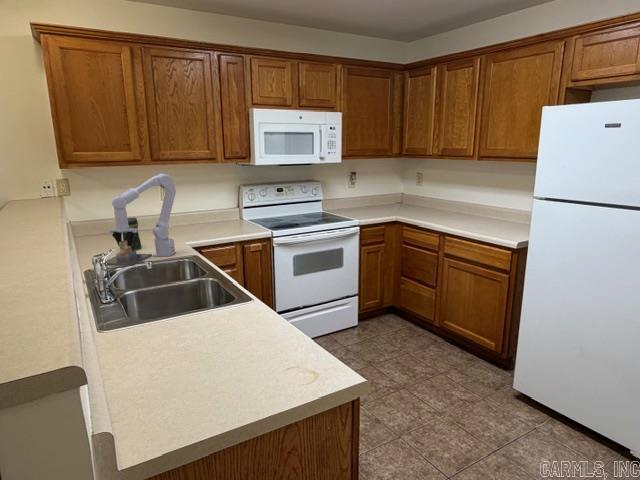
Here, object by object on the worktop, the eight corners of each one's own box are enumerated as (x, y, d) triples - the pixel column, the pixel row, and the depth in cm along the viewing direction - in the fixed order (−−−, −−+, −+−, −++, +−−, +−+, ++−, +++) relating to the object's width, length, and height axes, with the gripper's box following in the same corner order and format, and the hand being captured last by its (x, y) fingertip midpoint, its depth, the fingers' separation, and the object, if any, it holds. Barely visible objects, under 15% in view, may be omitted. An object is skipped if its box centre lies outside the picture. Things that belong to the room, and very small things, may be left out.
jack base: (152, 255, 224) (151, 248, 223) (134, 265, 206) (132, 257, 205) (121, 256, 226) (120, 248, 225) (100, 265, 208) (99, 257, 207)
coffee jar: (141, 246, 246) (137, 216, 242) (141, 249, 239) (137, 218, 234) (124, 248, 242) (119, 217, 238) (123, 251, 235) (118, 219, 231)
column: (132, 252, 217) (130, 240, 215) (127, 254, 213) (126, 242, 211) (124, 252, 217) (123, 240, 216) (120, 254, 213) (118, 242, 212)
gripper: (103, 222, 208) (107, 247, 211) (130, 221, 206) (134, 247, 209) (112, 219, 215) (115, 244, 218) (138, 219, 213) (141, 244, 216)
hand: (125, 246), depth 214 cm, fingers open, 5 cm apart
